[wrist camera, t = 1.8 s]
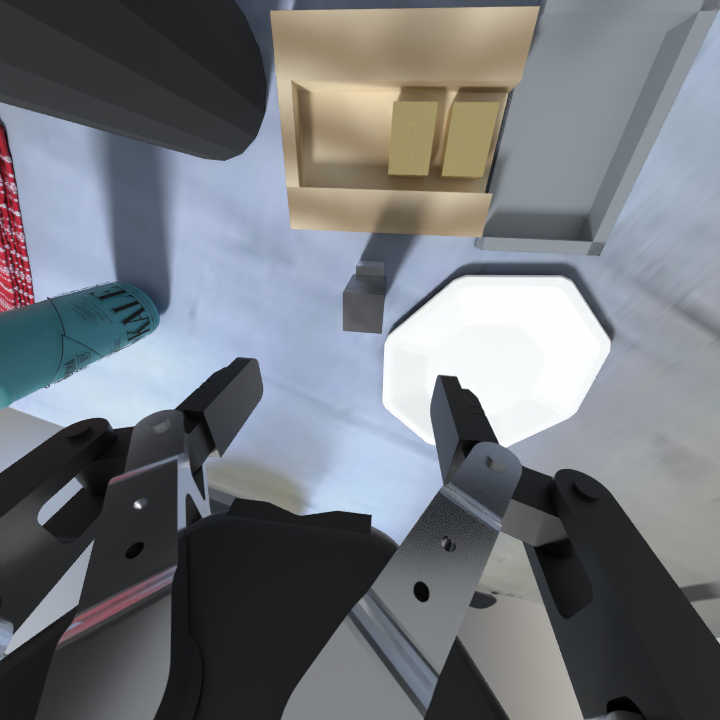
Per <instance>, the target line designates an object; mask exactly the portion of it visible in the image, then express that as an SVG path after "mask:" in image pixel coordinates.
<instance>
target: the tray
mask: <svg viewBox="0 0 720 720" xmlns="http://www.w3.org/2000/svg"><path fill="white" fill-rule="evenodd" d="M537 6H540V9H539V13H538V17H537V21H536V24H535V28H534V32H533V36H532V40H531V44H530V48H529V52H528V56H527V60H526V64H525V68H524V72H523V76H522V80H521V81H520V82H519V83H518V84H517V85H516V86H515V87H514V88H513V89H512V93H511V97H510V101H509V105H508V109H507V114H506V118H505V122H504V126H503V130H502V134H501V138H500V142H499V146H498V150H497V155H496V159H495V163H494V167H493V171H492V175H491V179H490V183H489V187H488V192H487V193H489V194H492V198H491V202H490V206H489V210H488V214H487V218H486V222H485V226H484V230H483V234H482V237H476V241H475V245H474V247H476V248H479V249H481V250H493V251H514V252H534V253H555V254H575V255H596V256H600V254H601V252H602V250H603V248H604V245H605V243H606V241H607V239H608V237H609V235H610V233H611V231H612V229H613V227H614V225H615V223H616V221H617V219H618V217H619V215H620V213H621V210H622V208H623V206H624V204H625V202H626V200H627V198H628V196H629V194H630V192H631V190H632V188H633V186H634V184H635V182H636V180H637V178H638V175H639V173H640V171H641V169H642V167H643V165H644V163H645V161H646V159H647V157H648V155H649V153H650V151H651V149H652V147H653V145H654V143H655V141H656V138H657V136H658V134H659V132H660V130H661V128H662V126H663V124H664V122H665V120H666V118H667V116H668V114H669V112H670V110H671V108H672V106H673V103H674V101H675V99H676V97H677V95H678V93H679V91H680V89H681V87H682V85H683V83H684V81H685V79H686V77H687V75H688V73H689V71H690V68H691V66H692V64H693V62H694V60H695V58H696V56H697V54H698V52H699V50H700V48H701V46H702V44H703V42H704V40H705V38H706V36H707V34H708V31H709V29H710V27H711V25H712V23H713V21H714V19H715V17H716V15H717V13H718V11H719V9H720V0H540V2H539V3H538V4H537Z"/></svg>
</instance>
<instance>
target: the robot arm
mask: <svg viewBox="0 0 720 720" xmlns="http://www.w3.org/2000/svg"><path fill="white" fill-rule="evenodd" d="M262 394H263V384H262V379H261V374H260V369H259V364H258V361H257V360H256V359H254V358H243V357H238V358H236V359H235V360H234V361H233V362H232V363H231V364H230V365H229V366H228V367H224V368H223V369H221V370H219V371H217V372H215V373H214V374H212V375H211V376H210V377H209V378H208V379H207V380H206V382H204V383H203V384H202V385H201V386H199V388H197V389H196V390H195V391H194V392H193V393H192V394H191V395H190V396H189V397H187V398H186V399H185V400H184V401H183V402H182V403H181V404H180V405H179V406H178V407H177V408H176V409H174V410H163V411H159V412H156V413H154V414H151V415H149V416H147V417H145V418H144V419H142V420H141V421H140V422H139V423H138V424H137V425H136V426H134V427H126V428H119V429H113V428H112V427H111V425H110V424H109V422H108V421H107V420H106V419H104V418H91V419H86V420H83V421H80V422H77V423H74V424H72V425H70V426H68V427H66V428H64V429H62V430H61V431H59V432H58V433H56V434H55V435H53V436H52V437H51V438H49V439H48V440H47V441H45V442H43V443H42V444H41V445H39V446H38V447H37V448H35V449H34V450H32V451H31V452H29V453H28V454H27V455H25V456H24V457H22V458H21V459H19V460H18V461H17V462H15V463H14V464H12V465H11V466H10V467H9V468H7V469H5V470H4V471H3V472H1V473H0V720H510V719H509V718H508V716H507V714H506V713H505V711H504V709H503V708H502V706H501V705H500V703H499V701H498V700H497V698H496V697H495V695H494V693H493V692H492V690H491V689H490V687H489V685H488V684H487V682H486V681H485V679H484V677H483V676H482V674H481V673H480V671H479V669H478V668H477V666H476V665H475V663H474V661H473V660H472V658H471V657H470V655H469V653H468V652H467V650H466V649H465V647H464V645H463V644H462V642H461V641H460V639H459V637H458V636H457V633H458V630H459V628H460V626H461V623H462V621H463V618H464V616H465V614H466V611H467V609H468V606H469V604H470V602H471V599H472V597H473V594H474V592H475V589H476V587H477V585H478V582H479V580H480V578H481V575H482V573H483V570H484V568H485V566H486V563H487V561H488V558H489V556H490V554H491V551H492V549H493V547H494V544H495V542H496V539H497V537H498V534H499V532H500V531H501V532H504V533H506V534H508V535H510V536H512V537H515V538H517V539H519V540H521V541H522V542H523V544H524V547H525V550H526V553H527V556H528V559H529V562H530V565H531V567H532V570H533V573H534V576H535V579H536V582H537V585H538V588H539V591H540V593H541V596H542V599H543V602H544V605H545V607H546V611H547V613H548V617H549V619H550V622H551V625H552V628H553V631H554V634H555V637H556V640H557V642H558V645H559V648H560V651H561V654H562V657H563V660H564V662H565V665H566V668H567V671H568V674H569V677H570V680H571V683H572V686H573V689H574V691H575V694H576V697H577V700H578V703H579V706H580V709H581V712H582V715H583V717H584V720H720V644H719V642H718V641H717V640H716V638H715V637H714V635H713V634H712V633H711V631H710V630H709V628H708V627H707V626H706V624H705V623H704V622H703V620H702V619H701V617H700V616H699V615H698V613H697V612H696V610H695V609H694V608H693V606H692V605H691V604H690V602H689V601H688V599H687V598H686V597H685V595H684V594H683V592H682V591H681V590H680V588H679V587H678V585H677V584H676V583H675V581H674V580H673V579H672V577H671V576H670V574H669V573H668V572H667V570H666V569H665V567H664V566H663V565H662V563H661V562H660V560H659V559H658V558H657V556H656V555H655V554H654V552H653V551H652V549H651V548H650V547H649V545H648V544H647V542H646V541H645V540H644V538H643V537H642V536H641V534H640V533H639V531H638V530H637V529H636V527H635V526H634V524H633V523H632V522H631V520H630V519H629V517H628V516H627V515H626V513H625V512H624V511H623V509H622V508H621V506H620V505H619V504H618V502H617V501H616V499H615V498H614V497H613V495H612V494H611V493H610V492H609V491H608V490H607V489H606V488H605V487H604V486H603V485H602V484H601V483H599V482H598V481H597V480H595V479H594V478H592V477H590V476H588V475H586V474H584V473H582V472H579V471H576V470H572V469H562V470H559V471H557V473H556V474H555V475H554V477H551V476H548V475H545V474H542V473H540V472H537V471H534V470H531V469H528V468H526V467H524V466H522V465H521V463H520V461H519V459H518V458H517V457H516V456H515V455H514V454H513V453H512V452H511V451H510V450H508V449H507V448H505V447H504V446H501V445H500V444H499V442H498V440H497V438H496V436H495V433H494V431H493V429H492V427H491V425H490V423H489V421H488V419H487V416H485V412H484V410H483V408H482V406H481V404H480V402H479V399H478V397H477V396H476V395H475V394H473V393H472V392H471V391H470V390H469V389H463V388H461V385H460V383H459V380H458V378H457V376H448V375H438V376H437V378H436V382H435V386H434V391H433V395H432V399H431V404H430V418H431V423H432V428H433V433H434V438H435V443H436V448H437V453H438V458H439V463H440V469H441V474H442V479H443V484H444V485H443V486H442V487H441V489H440V490H439V491H438V493H437V494H436V496H435V497H434V498H433V500H432V501H431V503H430V504H429V506H428V507H427V508H426V510H425V511H424V513H423V514H422V515H421V517H420V518H419V520H418V521H417V523H416V524H415V525H414V527H413V528H412V530H411V531H410V532H409V534H408V535H407V537H406V538H405V540H404V541H403V542H402V544H401V545H400V546H399V545H398V544H397V543H396V542H395V541H394V540H393V539H391V538H390V537H389V536H388V535H386V534H385V533H383V532H382V531H380V530H378V529H376V528H374V527H372V526H371V517H372V515H367V514H359V513H351V512H343V511H332V512H325V513H318V514H311V515H304V516H299V515H296V514H293V513H291V512H289V511H287V510H284V509H282V508H280V507H278V506H276V505H273V504H271V503H269V502H263V501H255V500H248V499H240V498H235V500H234V501H233V503H232V505H231V507H230V509H229V510H224V511H221V512H217V513H214V514H211V512H210V506H209V497H208V487H207V477H206V468H205V464H204V461H205V460H206V459H207V457H216V458H221V457H222V455H223V454H224V452H225V451H226V449H227V448H228V446H229V445H230V444H231V442H232V441H233V439H234V438H235V436H236V435H237V433H238V432H239V430H240V429H241V428H242V426H243V425H244V423H245V422H246V420H247V419H248V417H249V416H250V414H251V413H252V411H253V410H254V409H255V407H256V406H257V404H258V403H259V401H260V400H261V398H262ZM74 477H75V478H76V479H77V480H78V481H79V483H80V484H81V485H82V486H83V488H82V489H80V490H79V491H78V492H77V493H76V494H75V495H74V496H73V497H72V498H71V499H70V500H69V501H68V502H67V503H66V504H65V505H64V506H63V507H62V508H61V509H60V510H59V511H58V512H56V513H55V514H54V515H53V516H52V517H51V518H50V519H49V520H48V521H47V522H46V523H45V524H44V525H43V526H41V525H40V524H39V523H38V521H37V516H38V513H39V511H40V509H41V508H42V506H43V505H44V504H45V503H46V502H47V501H48V500H49V499H50V498H51V497H53V496H54V495H55V494H56V493H57V492H58V491H59V490H60V489H61V488H63V487H64V486H65V485H66V484H67V483H68V482H69V481H70V480H72V478H74ZM93 540H94V544H93V548H92V552H91V556H90V560H89V564H88V568H87V572H86V576H85V580H84V584H83V588H82V592H81V596H80V600H79V604H78V605H77V606H76V607H74V608H73V609H72V610H70V611H69V612H67V613H66V614H65V615H63V616H62V617H60V618H59V619H58V620H56V621H55V622H53V623H52V624H51V625H49V626H48V627H46V628H45V629H44V630H42V631H41V632H39V633H38V634H36V635H35V636H34V637H32V638H31V639H30V640H28V641H27V642H25V643H24V644H22V645H21V646H20V647H18V648H17V649H15V650H14V651H13V652H11V653H10V654H8V655H7V654H5V653H4V652H5V650H6V649H7V647H8V645H9V643H10V640H11V638H12V636H13V634H14V633H15V632H16V631H17V630H18V629H19V627H20V626H21V625H22V624H23V623H24V621H25V620H26V619H27V618H28V617H29V616H30V614H31V613H32V612H33V611H34V610H35V608H36V607H37V606H38V605H39V604H40V602H41V601H42V600H43V599H44V598H45V596H46V595H47V594H48V593H49V592H50V591H51V589H52V588H53V587H54V586H55V585H56V584H57V582H58V581H59V580H60V579H61V577H62V576H63V575H64V574H65V573H66V571H67V570H68V569H69V568H70V567H71V566H72V565H73V563H74V562H75V561H76V560H77V559H78V557H79V556H80V555H81V554H82V553H83V552H84V550H85V549H86V548H87V547H88V546H89V545H90V543H91V542H92V541H93Z"/></svg>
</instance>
